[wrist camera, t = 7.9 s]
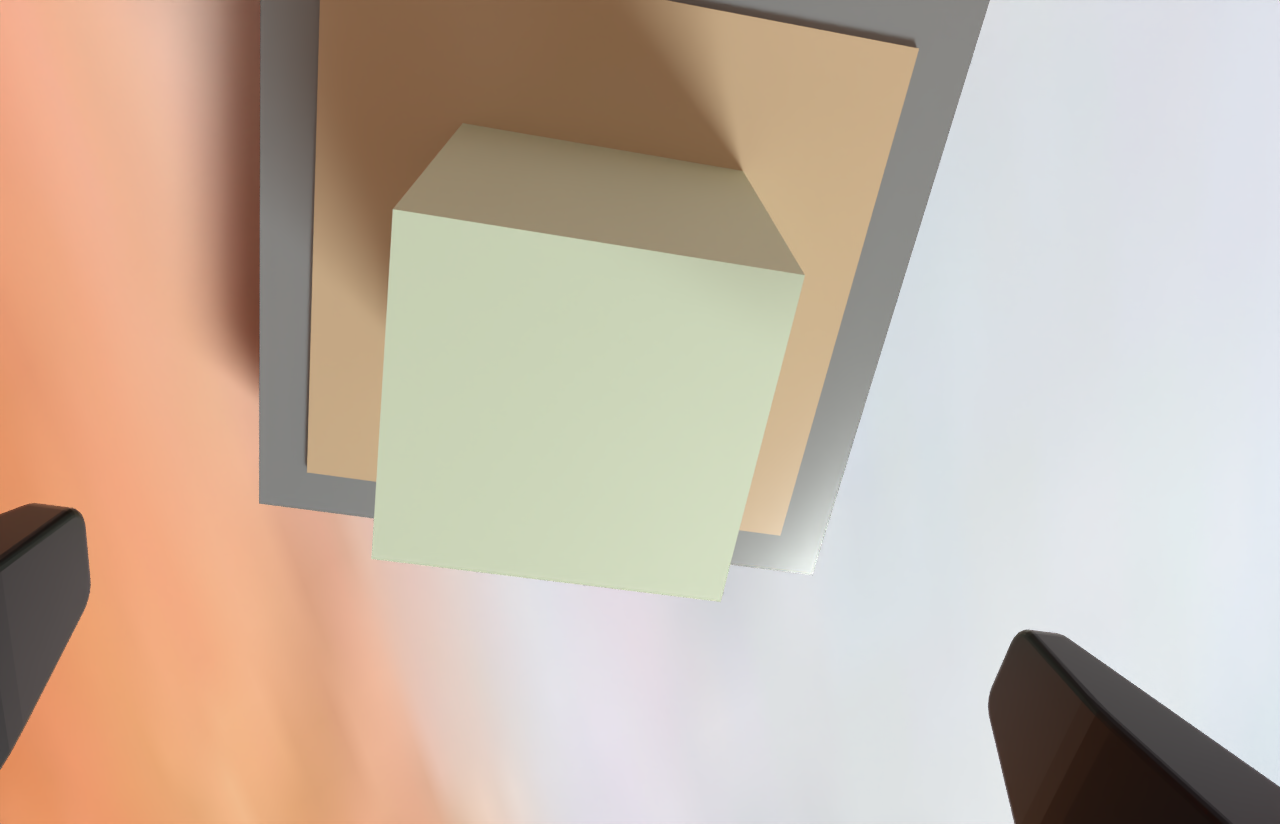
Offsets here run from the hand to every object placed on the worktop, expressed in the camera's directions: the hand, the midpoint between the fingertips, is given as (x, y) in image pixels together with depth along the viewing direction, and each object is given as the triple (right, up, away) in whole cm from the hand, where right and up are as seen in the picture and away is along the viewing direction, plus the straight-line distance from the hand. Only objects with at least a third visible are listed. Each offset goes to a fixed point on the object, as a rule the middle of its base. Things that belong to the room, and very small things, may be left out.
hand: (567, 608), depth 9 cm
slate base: (0, +6, +12) cm, 13 cm away
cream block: (0, +4, +9) cm, 10 cm away
